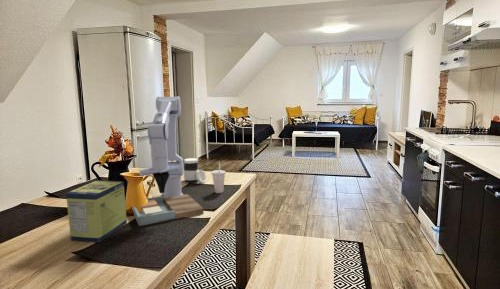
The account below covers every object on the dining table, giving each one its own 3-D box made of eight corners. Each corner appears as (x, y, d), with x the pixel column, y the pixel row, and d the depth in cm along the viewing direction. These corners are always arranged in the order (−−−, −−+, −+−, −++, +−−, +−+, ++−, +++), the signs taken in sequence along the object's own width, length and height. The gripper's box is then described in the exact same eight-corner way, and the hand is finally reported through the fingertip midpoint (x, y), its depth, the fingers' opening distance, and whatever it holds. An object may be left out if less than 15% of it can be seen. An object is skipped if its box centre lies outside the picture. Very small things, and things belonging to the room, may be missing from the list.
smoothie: (223, 194, 143) (223, 164, 140) (210, 193, 144) (209, 163, 142) (227, 190, 149) (226, 161, 147) (214, 189, 150) (213, 160, 148)
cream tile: (143, 215, 118) (142, 208, 117) (159, 212, 121) (159, 205, 120) (146, 220, 113) (145, 214, 112) (163, 217, 115) (162, 210, 115)
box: (130, 208, 127) (130, 201, 126) (163, 202, 133) (162, 195, 132) (139, 226, 109) (138, 217, 109) (175, 218, 115) (175, 211, 115)
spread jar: (185, 179, 170) (184, 157, 168) (206, 178, 171) (205, 157, 169) (182, 185, 158) (181, 162, 156) (205, 184, 159) (204, 161, 158)
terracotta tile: (139, 207, 125) (138, 201, 125) (154, 205, 128) (154, 199, 128) (141, 212, 120) (141, 206, 120) (157, 209, 123) (157, 203, 123)
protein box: (127, 223, 112) (124, 180, 110) (99, 243, 97) (95, 194, 94) (101, 221, 114) (97, 179, 111) (69, 240, 99) (64, 193, 96)
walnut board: (163, 202, 133) (163, 198, 132) (187, 198, 137) (187, 194, 137) (176, 218, 115) (175, 213, 115) (203, 213, 120) (203, 208, 120)
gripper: (140, 160, 108) (143, 198, 110) (182, 156, 115) (183, 192, 117) (137, 157, 114) (140, 193, 116) (177, 153, 121) (178, 187, 123)
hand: (161, 192), depth 117 cm, fingers closed
